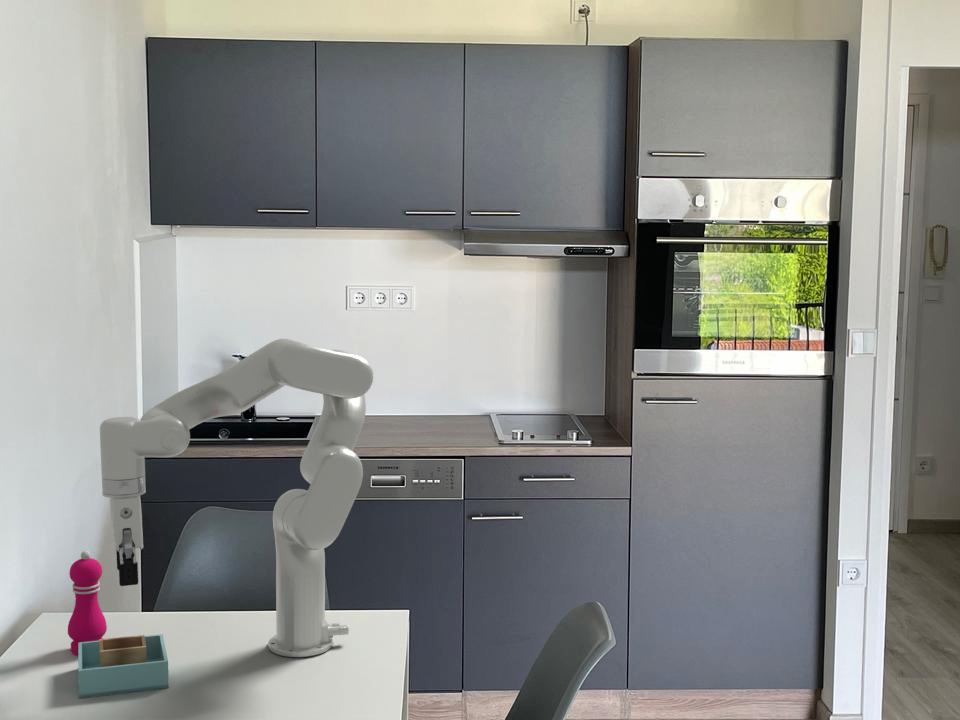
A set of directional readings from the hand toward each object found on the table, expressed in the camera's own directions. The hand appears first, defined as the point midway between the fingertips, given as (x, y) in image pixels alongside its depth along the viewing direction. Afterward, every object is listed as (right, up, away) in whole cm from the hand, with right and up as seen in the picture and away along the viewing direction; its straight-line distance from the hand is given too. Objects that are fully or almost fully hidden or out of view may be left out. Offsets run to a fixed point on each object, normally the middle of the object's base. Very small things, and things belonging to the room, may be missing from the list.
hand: (127, 576), depth 204 cm
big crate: (-1, -19, +1) cm, 19 cm away
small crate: (-1, -18, +1) cm, 18 cm away
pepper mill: (-12, -17, +14) cm, 25 cm away
